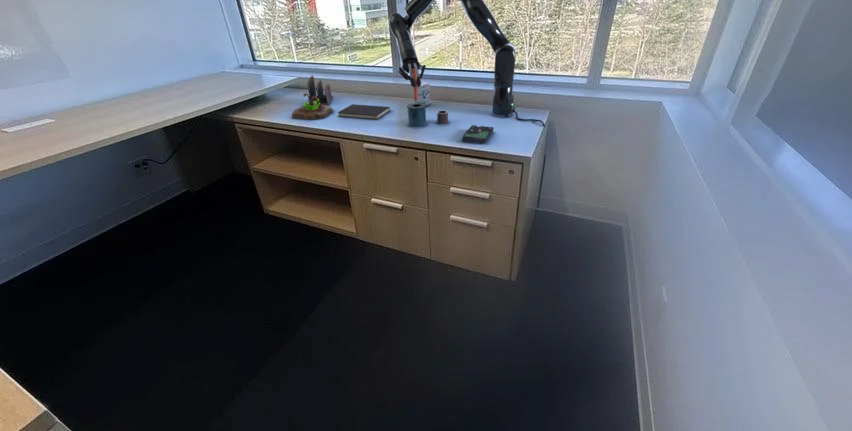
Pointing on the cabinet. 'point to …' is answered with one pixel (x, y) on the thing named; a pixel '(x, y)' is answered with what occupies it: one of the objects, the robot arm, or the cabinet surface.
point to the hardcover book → (364, 111)
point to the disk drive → (477, 134)
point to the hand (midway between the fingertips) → (416, 86)
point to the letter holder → (319, 92)
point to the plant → (311, 110)
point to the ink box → (423, 93)
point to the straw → (415, 85)
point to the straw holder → (442, 117)
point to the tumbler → (417, 117)
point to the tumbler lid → (416, 107)
